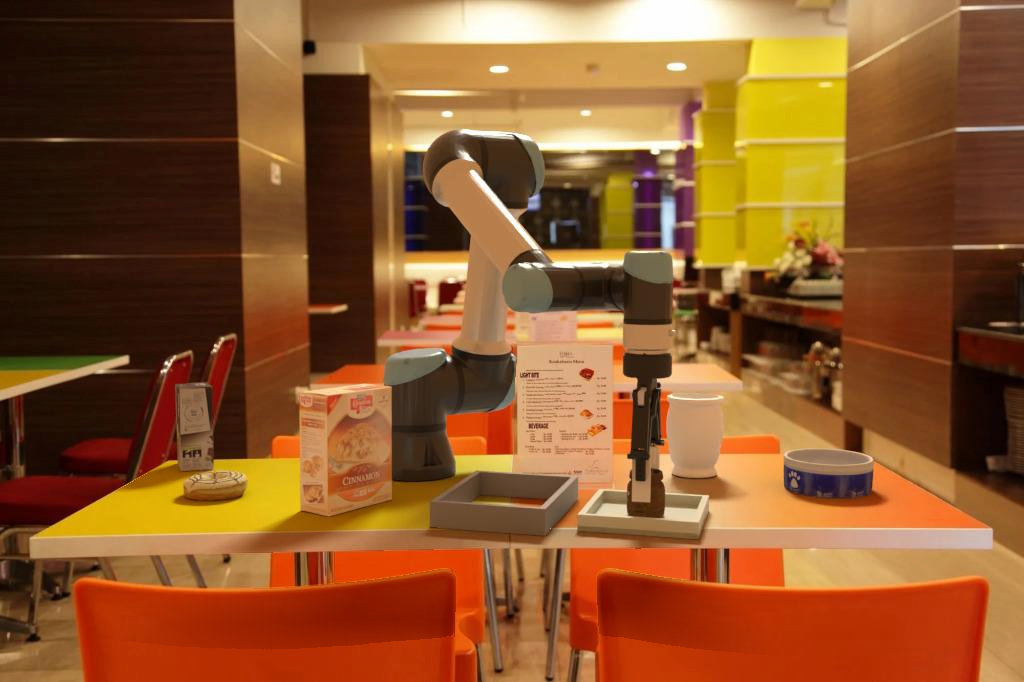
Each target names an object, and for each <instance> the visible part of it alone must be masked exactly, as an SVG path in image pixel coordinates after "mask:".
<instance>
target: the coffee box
mask: <svg viewBox="0 0 1024 682" xmlns="http://www.w3.org/2000/svg"><path fill="white" fill-rule="evenodd" d="M174 385H175V387H174V388H175V415H176V416H175V421H176V444H177V445H176V447H177V448H176V449H177V450H176V451H177V453H176V454H177V455H176V456H177V465H178V467H179V469H180V471H181V472H189V471H204V470H205V471H206V470H209V471H210V470H213V469H215V466H214V465H215V464H214V463H215V462H214V461H215V459H214V458H215V457H214V454H215V453H214V405H213V404H214V403H213V402H214V400H213V399H214V397H213V396H214V395H213V392H214V391H213V388H214V387H213V386H212V385H211V384H210V383H209V382H206V381H205V382H204V381H203V382H189V383H188V382H187V383H175V384H174Z"/></svg>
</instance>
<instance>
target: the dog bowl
mask: <svg viewBox="0 0 1024 682" xmlns="http://www.w3.org/2000/svg"><path fill="white" fill-rule="evenodd" d="M874 463H875V462H874V458H873V457H872V456H870V455H868V454H865V453H861V452H858V451H857V452H856V451H852V450H845V449H837V448H823V447H822V448H820V447H818V448H815V447H813V448H811V447H810V448H799V449H793V450H792V449H791V450H788V451H786V452H785V453H784V455H783V487H784V489H785V490H786V491H789V492H791V493H794V494H797V495H802V496H807V497H813V498H824V499H855V498H863V497H867V496H869V495H871V494H872V492H873V486H874V484H873V483H874V482H873V481H874V466H875V464H874Z"/></svg>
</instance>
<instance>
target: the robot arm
mask: <svg viewBox="0 0 1024 682" xmlns="http://www.w3.org/2000/svg"><path fill="white" fill-rule="evenodd" d="M545 167H546V166H545V160H544V156H543V154H542V151H541V150H540V147H539V145H538V144H537V143H536V141H535V140H533V138H531V137H530V136H528V135H524V134H520V133H514V132H512V131H511V132H507V131H506V132H505V131H492V130H491V131H487V130H485V131H484V130H471V129H465V128H464V129H463V128H462V129H461V128H460V129H459V128H458V129H453V130H449V131H447V132H445V133H442V134H441V135H439V136H438V137H437V138H435V140H434V141H433V142H431V144H430V145H429V147H428V148H427V150H426V151H425V154H424V158H423V163H422V175H423V179H424V184H425V186H426V188H427V190H428V192H429V193H430V194H431V195H432V197H433V198H434V200H436V202H437V203H438V204H440V205H442V206H444V207H446V208H449V209H450V210H451V211H452V213H453V214H454V215H455V216H456V218H457V219H458V220H459V222H460V223H461V224H462V226H463V227H464V228H465V229H466V230H467V232H468V233H469V235H470V242H469V252H468V261H467V270H466V271H467V272H466V279H465V290H464V300H463V309H462V310H463V311H462V319H461V320H462V321H461V326H460V327H461V328H460V334H459V335H458V336H457V337H455V338H454V339H453V340H452V342H451V351H450V354H447V352H446V350H445V349H444V348H441V347H427V348H426V347H425V348H414V349H408V350H403V351H399V352H396V353H393V354H392V355H390V356H388V357H387V358H386V360H385V362H384V371H383V372H384V373H383V377H382V378H383V379H382V383H383V385H384V386H390V387H392V481H403V482H404V481H407V482H409V481H410V482H411V481H412V482H414V481H415V482H417V481H418V482H419V481H432V480H440V479H445V478H448V477H451V476H454V475H455V474H456V473H457V466H456V465H457V464H456V463H457V462H456V458H455V455H454V451H453V448H452V446H451V442H450V439H449V437H448V434H447V416H454V415H465V414H476V413H477V414H478V413H479V414H480V413H483V414H488V413H491V412H493V411H494V412H495V411H501V410H504V409H506V408H507V407H508V406H510V405H511V404H512V403H513V402H514V400H515V399H516V397H515V377H516V359H517V357H516V356H515V354H513V353H512V346H511V345H510V344H509V342H508V341H507V340H506V331H507V323H508V315H509V309H510V310H511V311H514V312H515V313H528V314H541V313H557V312H558V313H559V312H590V311H591V312H592V311H594V312H595V311H618V312H619V311H622V312H623V318H622V319H623V320H622V321H623V323H622V348H623V349H624V350H626V352H624V353H623V355H622V374H623V375H624V376H625V377H627V378H630V379H636V380H637V382H636V387H635V389H633V390H632V394H631V396H632V416H631V417H632V419H631V434H630V435H631V436H630V437H631V438H630V450H629V453H627V455H626V456H627V457H626V458H627V460H631V470H632V501H633V502H649V503H650V491H651V468H653V467H654V468H655V469H659V470H660V456H659V449H660V448H661V446H662V447H664V446H665V439H662V438H663V435H662V421H661V416H662V415H661V405H662V404H661V398H662V383H661V381H658V380H659V379H667V378H670V377H671V376H672V374H673V354H672V353H671V352H668V351H670V350H671V349H672V348H673V339H672V337H676V336H677V331H676V330H674V329H672V328H673V313H674V312H673V310H674V309H673V308H674V305H673V304H674V301H673V300H674V282H675V281H674V280H675V276H674V266H673V265H674V264H673V263H674V262H673V257H672V255H671V253H670V252H668V251H665V250H664V251H662V250H660V251H659V250H657V251H656V250H654V251H652V250H651V251H650V250H648V251H647V250H646V251H645V250H640V251H639V250H632V251H626V253H624V257H623V263H609V262H608V263H607V262H590V263H556V262H554V261H552V259H551V258H550V257H549V255H547V254H546V252H545V251H544V250H543V248H542V247H541V246H540V245H539V243H538V242H536V240H535V239H534V238H533V237H532V236H531V235H530V233H529V232H528V230H527V229H525V228H524V226H523V225H522V224H521V222H520V221H519V218H520V216H521V215H523V214H524V213H525V212H527V210H528V209H529V199H531V198H533V197H535V196H538V194H539V193H540V191H541V189H542V188H543V186H544V181H545V177H546V175H545V173H546V170H545ZM654 444H655V445H656V446H655V445H654ZM657 445H658V446H657ZM650 447H651V448H650ZM658 447H659V448H658ZM641 449H643V450H641ZM650 449H651V452H650ZM660 450H661V449H660ZM655 455H656V458H655ZM654 458H655V461H654ZM658 460H659V462H658ZM654 463H655V464H654ZM657 464H658V465H657ZM653 465H654V466H653ZM656 466H657V467H656Z"/></svg>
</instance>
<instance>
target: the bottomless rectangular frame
mask: <svg viewBox="0 0 1024 682" xmlns="http://www.w3.org/2000/svg"><path fill="white" fill-rule="evenodd" d="M479 496H493V497H494V496H495V497H511V498H522V499H523V498H525V499H526V498H527V499H528V498H529V499H539V500H540V499H542V500H546V501H545V502H544V503H543V504H542V505H541V506H530V505H529V506H528V505H512V504H498V503H483V502H482V503H481V502H474V501H475V500H476V499H477V498H478V497H479ZM578 500H579V475H566V474H565V475H561V474H547V473H546V474H545V473H525V472H511V471H510V472H508V471H506V472H505V471H495V470H492V471H491V470H475V471H473V472H471V474H469V475H468V476H466V477H464V478H463V479H461V480H460V481H459V482H457V483H456V484H454V485H453V486H451V487H449V488H448V489H447V490H445V491H443V492H442V493H440V494H439V495H437V496H436V497H434V498H433V499H431V500H430V501H429V528H430V527H440V528H439V529H444V528H451V529H450V530H458V529H459V531H461V530H463V531H473V532H475V531H476V532H487V533H488V532H489V533H501V534H517V535H530V536H540V537H541V536H542V537H543V536H544V537H545V536H546V535H548V534H549V532H550V531H551V530H550V528H552V527H553V526H554V525H555V526H556V524H558V522H559V521H560V520H561V519H562V518H563V517H564V516H565V515H566V513H567V512H568V511H570V509H571V508H572V507H573V506H574V505H575V503H577V501H578ZM555 526H554V527H555ZM554 527H553V528H554ZM553 528H552V529H553Z"/></svg>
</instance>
